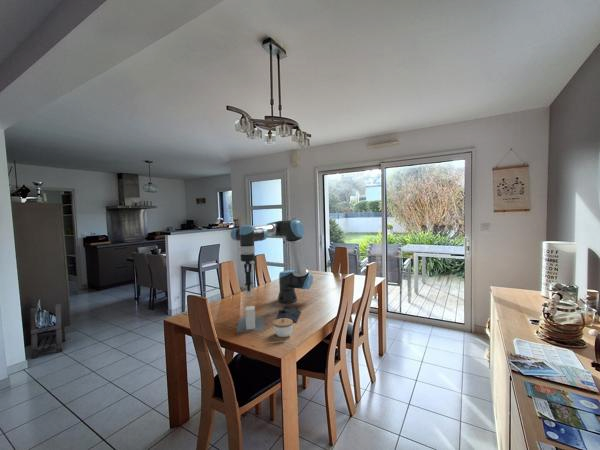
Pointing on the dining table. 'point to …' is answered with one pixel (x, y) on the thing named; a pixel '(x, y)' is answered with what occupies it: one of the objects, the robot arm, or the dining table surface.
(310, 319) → the dining table surface
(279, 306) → the dining table surface
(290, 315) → the dark slate chunk
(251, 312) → the block
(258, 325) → the mat
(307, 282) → the robot arm
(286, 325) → the lidded jar
